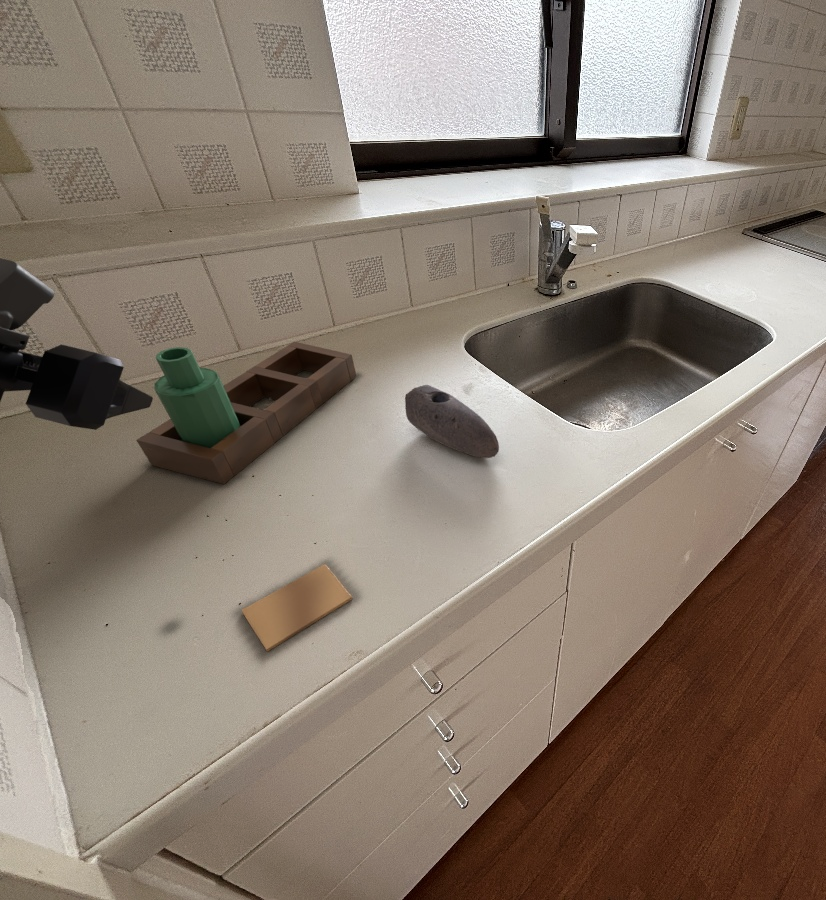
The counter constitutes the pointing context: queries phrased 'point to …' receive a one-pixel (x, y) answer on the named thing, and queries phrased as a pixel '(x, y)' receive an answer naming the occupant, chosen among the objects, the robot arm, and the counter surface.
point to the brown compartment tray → (256, 412)
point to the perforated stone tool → (450, 422)
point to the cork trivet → (296, 606)
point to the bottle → (194, 398)
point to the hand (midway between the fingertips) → (110, 391)
